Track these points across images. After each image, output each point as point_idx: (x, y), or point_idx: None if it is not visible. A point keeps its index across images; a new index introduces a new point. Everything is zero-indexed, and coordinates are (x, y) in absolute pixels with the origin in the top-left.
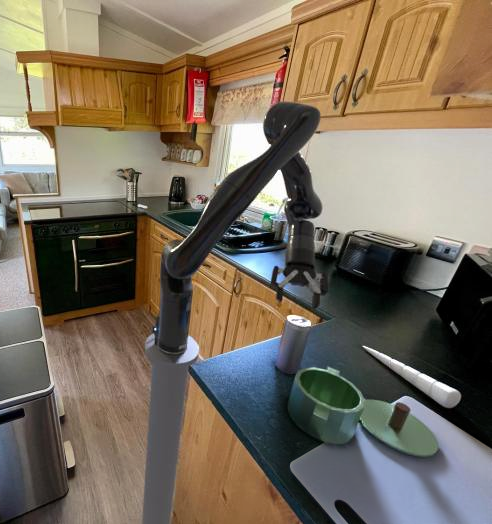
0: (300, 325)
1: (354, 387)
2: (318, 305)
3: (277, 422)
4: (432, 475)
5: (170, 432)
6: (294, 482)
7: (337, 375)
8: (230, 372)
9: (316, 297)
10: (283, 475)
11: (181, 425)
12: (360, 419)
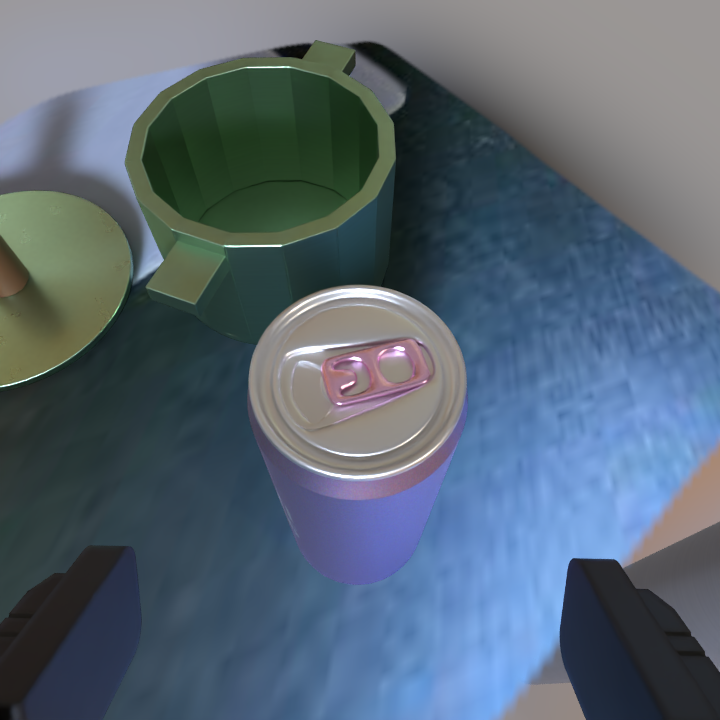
0: (354, 305)
1: (139, 173)
2: (60, 575)
3: (428, 199)
4: (22, 170)
5: (666, 547)
6: (398, 70)
7: (183, 222)
8: (634, 378)
9: (32, 639)
10: (422, 76)
11: None
12: (131, 265)
